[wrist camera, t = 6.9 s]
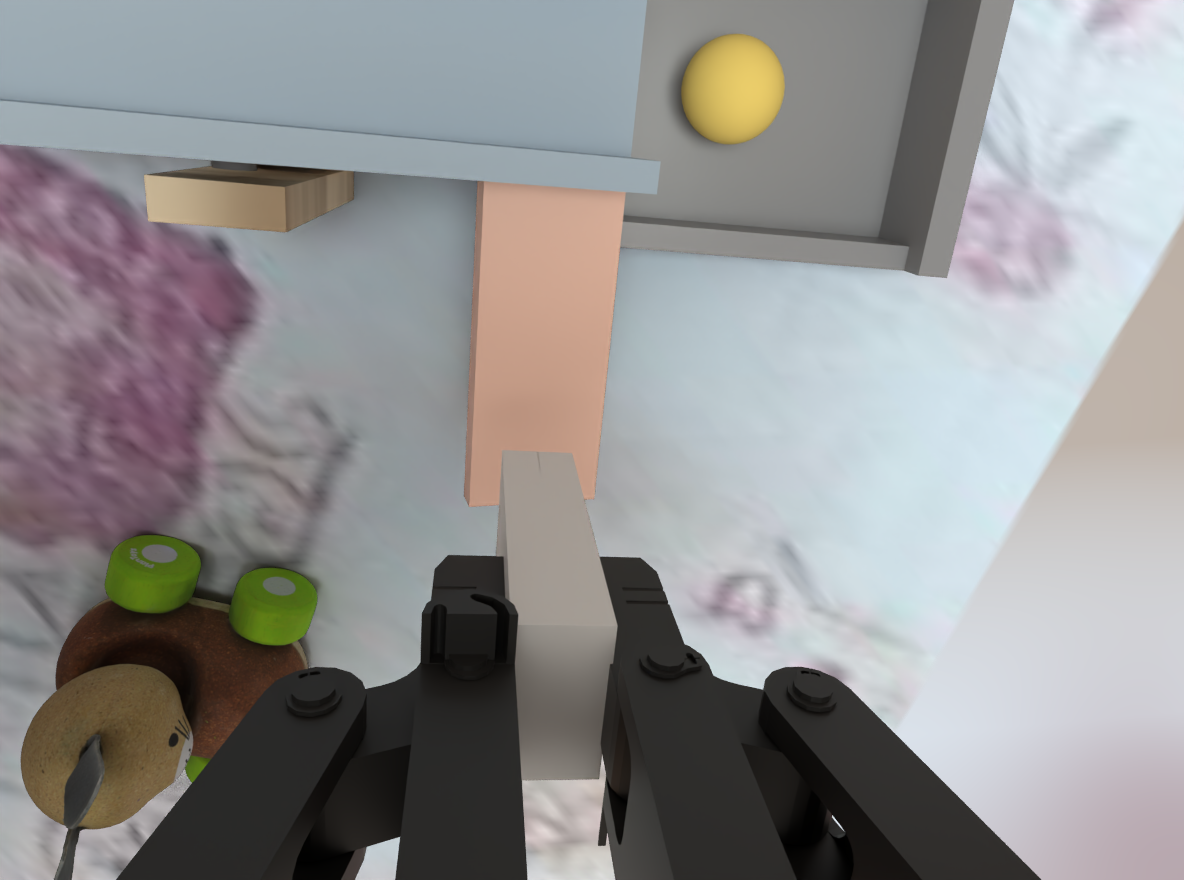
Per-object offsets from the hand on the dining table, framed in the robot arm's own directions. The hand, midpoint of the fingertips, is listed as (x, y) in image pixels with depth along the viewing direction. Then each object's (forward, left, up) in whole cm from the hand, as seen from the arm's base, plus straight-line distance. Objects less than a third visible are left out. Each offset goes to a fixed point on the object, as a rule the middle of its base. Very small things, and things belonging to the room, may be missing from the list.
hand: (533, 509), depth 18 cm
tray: (+7, +9, -13) cm, 18 cm away
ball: (+6, +9, -11) cm, 16 cm away
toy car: (-12, -13, -14) cm, 22 cm away
